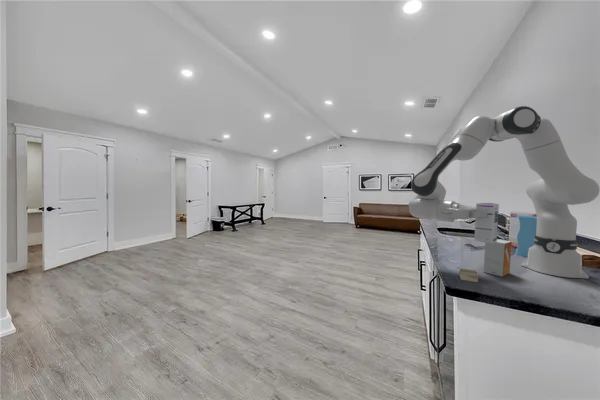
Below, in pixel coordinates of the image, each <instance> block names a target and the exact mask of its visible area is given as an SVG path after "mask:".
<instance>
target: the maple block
mask: <svg viewBox="0 0 600 400" xmlns="http://www.w3.org/2000/svg"><path fill="white" fill-rule="evenodd" d="M458 276H459V278H460V280H462V281H469V282H475V283H478V282H479V274H478V272H477V271H476V270H475V269H468V268H463V267H460V268H459V275H458Z"/></svg>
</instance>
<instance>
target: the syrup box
mask: <svg viewBox="0 0 600 400" xmlns="http://www.w3.org/2000/svg"><path fill="white" fill-rule="evenodd" d="M499 206H500V205H499V203H493V202H492V203H491V202H479V203H476V206H475V207H476V212H485V213H488V217H486V218H483V217H475V218H474V219H475V221H474V223H475V225H474V241H475V242H478V243H479V242H480V243H484V244H485V243H491V244H493V243H494V242H496V241H497V239H498V227H499V226H498V225H499V209H500V207H499Z"/></svg>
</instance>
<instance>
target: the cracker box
mask: <svg viewBox="0 0 600 400" xmlns="http://www.w3.org/2000/svg"><path fill="white" fill-rule="evenodd" d="M509 215H510V216H509V230H508V231H509V232H508V241H512V246H511V247H513V248H516V249H517V248H518V242H517V234H518V232H519V230H520V221H519V216H531V217H537V215H536V212H535V213H534V212H525V211H510V214H509Z"/></svg>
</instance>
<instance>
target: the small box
mask: <svg viewBox="0 0 600 400" xmlns="http://www.w3.org/2000/svg"><path fill="white" fill-rule="evenodd" d="M484 244H485V245H484V257H483V258H484V260H483V273H486V274H490V275H494V276H498V277H505V276H506V275H508V274H510V271H511V256H512V247H513V246H512V241H509V240H504V239H498V238H497V241H496V242H494V243H493V244H491V243H485V242H484Z"/></svg>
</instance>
